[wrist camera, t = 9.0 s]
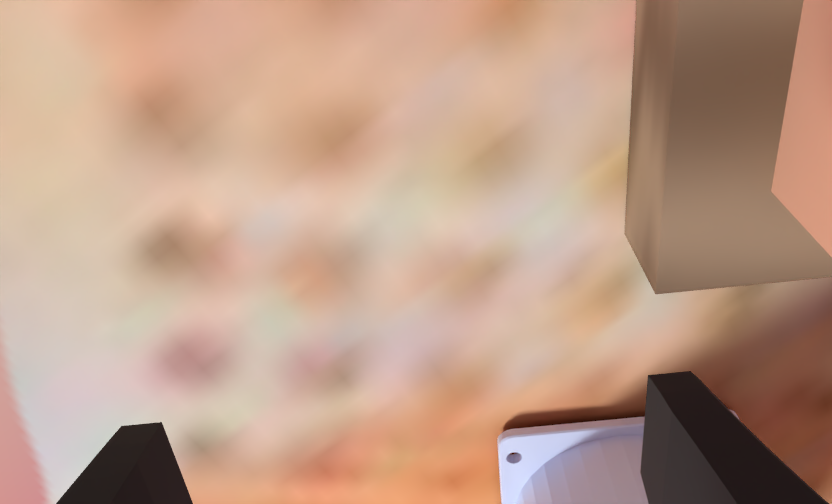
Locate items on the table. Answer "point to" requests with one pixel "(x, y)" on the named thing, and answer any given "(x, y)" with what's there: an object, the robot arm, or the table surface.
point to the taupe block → (713, 146)
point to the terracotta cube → (809, 127)
